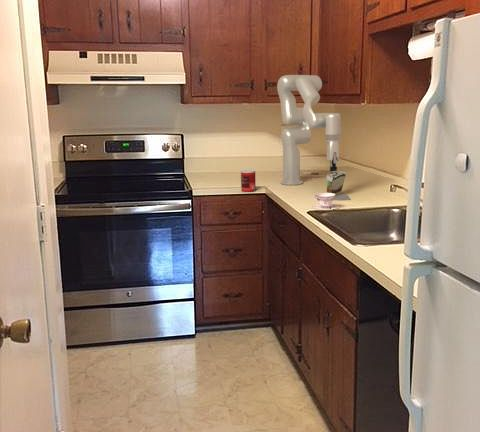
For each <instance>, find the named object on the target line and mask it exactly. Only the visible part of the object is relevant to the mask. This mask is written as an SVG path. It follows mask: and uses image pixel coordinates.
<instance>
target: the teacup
mask: <svg viewBox="0 0 480 432" xmlns="http://www.w3.org/2000/svg"><path fill="white" fill-rule="evenodd" d="M316 195H317V196H315V195H314V199H315V201H316V202H317V204H314V205H312V208H313V209H315V210H319V211H333V209H330V208H336V209H335V210H338V209H340V206H339V205H337V204H333V201H334V200H333V197H334V196H335V195H337V194H334V193H327V192H318V193H316ZM317 197H318V198H319V199H320V200H317Z"/></svg>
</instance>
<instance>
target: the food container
mask: <svg viewBox="0 0 480 432" xmlns="http://www.w3.org/2000/svg"><path fill="white" fill-rule="evenodd" d="M346 177H347V175H346V172H345V171H341V170H337V171H331V172H330V171H329V172H328V173H327V175H326V180H327V183H326V193H334V194H336V195H338V194H339V193H341V192H342V190H343V186H344V183H345V179H346Z"/></svg>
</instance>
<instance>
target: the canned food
mask: <svg viewBox="0 0 480 432" xmlns="http://www.w3.org/2000/svg"><path fill="white" fill-rule="evenodd" d="M240 189H241V193H254V192H256V170H255V169H241V170H240Z"/></svg>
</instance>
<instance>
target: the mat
mask: <svg viewBox="0 0 480 432" xmlns="http://www.w3.org/2000/svg"><path fill="white" fill-rule="evenodd" d="M315 196H317V194H315V195H314V197H315ZM316 200H317V201H320V199H319V198H318V197H317V198H316ZM351 200H352V199H351V197H350V196H349V195H348V194H336V195H335V196H334V197H333V200H332V201H351Z"/></svg>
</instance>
